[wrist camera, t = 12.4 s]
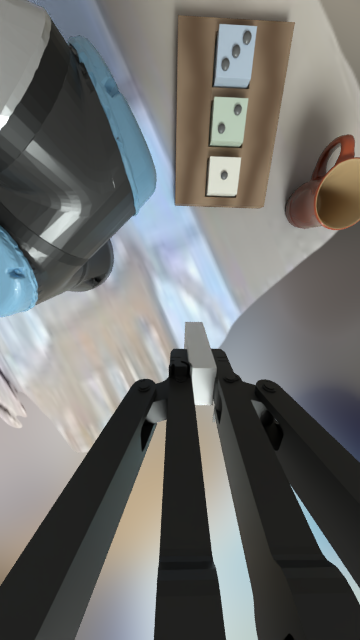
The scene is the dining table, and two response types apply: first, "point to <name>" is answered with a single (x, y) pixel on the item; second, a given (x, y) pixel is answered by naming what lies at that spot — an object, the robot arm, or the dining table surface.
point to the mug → (329, 191)
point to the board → (261, 93)
